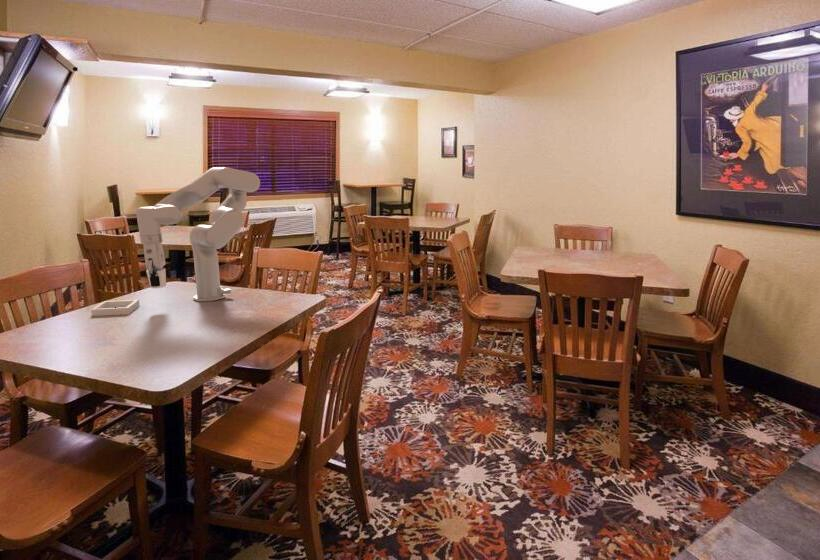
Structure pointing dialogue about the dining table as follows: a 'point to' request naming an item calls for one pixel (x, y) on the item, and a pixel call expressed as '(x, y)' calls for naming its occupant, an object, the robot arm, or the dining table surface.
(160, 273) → the shot glass
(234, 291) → the dining table surface
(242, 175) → the robot arm
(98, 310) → the box
